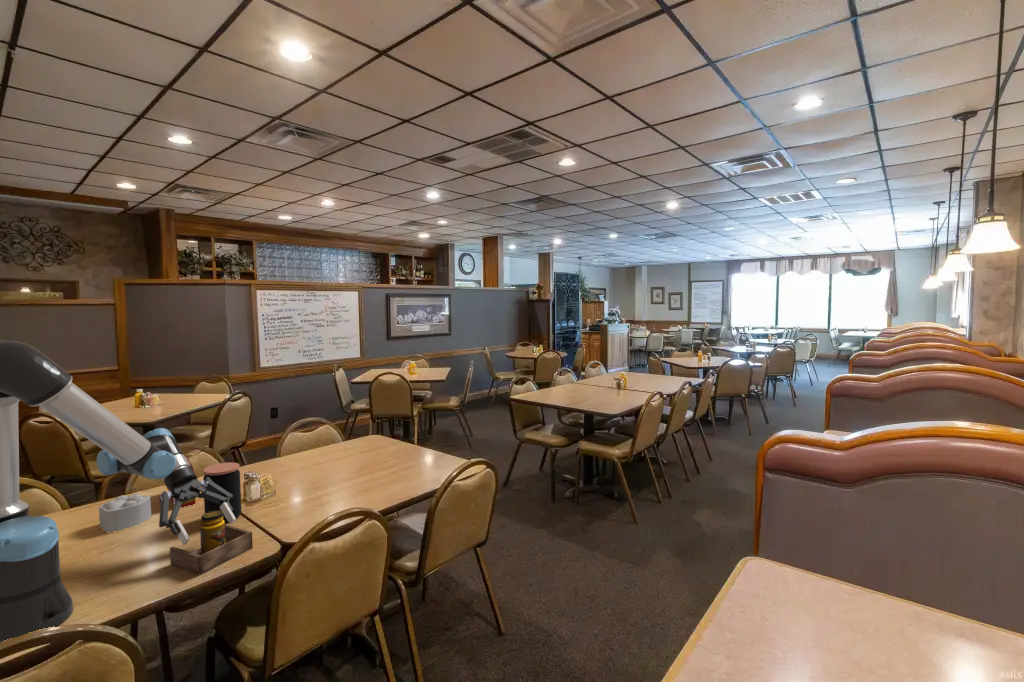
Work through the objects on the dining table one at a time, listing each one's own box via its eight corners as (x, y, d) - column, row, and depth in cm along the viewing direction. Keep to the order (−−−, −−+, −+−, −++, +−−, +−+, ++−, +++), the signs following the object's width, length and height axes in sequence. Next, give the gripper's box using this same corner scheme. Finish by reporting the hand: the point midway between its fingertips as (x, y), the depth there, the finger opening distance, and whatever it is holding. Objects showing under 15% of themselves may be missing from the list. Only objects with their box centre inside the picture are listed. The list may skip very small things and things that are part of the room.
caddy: (200, 575, 125) (199, 557, 125) (170, 564, 130) (169, 547, 130) (252, 548, 140) (252, 531, 139) (224, 539, 145) (223, 524, 144)
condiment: (227, 555, 134) (225, 515, 133) (191, 564, 129) (190, 522, 128) (227, 545, 140) (225, 506, 139) (193, 552, 135) (191, 513, 135)
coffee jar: (234, 509, 167) (232, 460, 166) (246, 517, 160) (244, 466, 159) (200, 519, 159) (198, 468, 158) (211, 528, 152) (209, 475, 151)
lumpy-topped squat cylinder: (97, 526, 154) (95, 501, 153) (145, 512, 164) (143, 488, 164) (108, 534, 148) (106, 508, 147) (156, 519, 159) (155, 495, 158)
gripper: (212, 468, 153) (244, 520, 148) (124, 495, 131) (159, 558, 126) (222, 454, 151) (255, 507, 146) (134, 480, 128) (170, 544, 123)
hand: (211, 531), depth 136 cm, fingers open, 13 cm apart
